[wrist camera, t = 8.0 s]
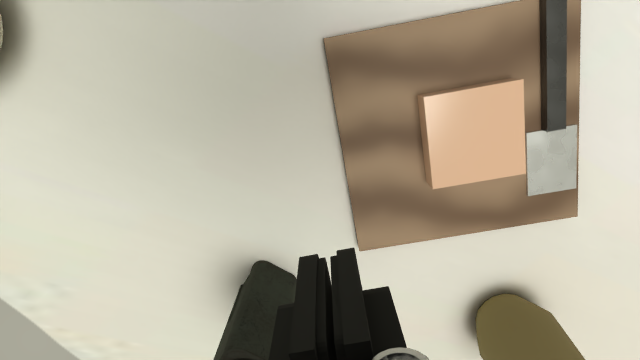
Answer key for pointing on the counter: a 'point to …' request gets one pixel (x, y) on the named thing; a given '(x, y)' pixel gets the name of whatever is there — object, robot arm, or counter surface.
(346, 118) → the board
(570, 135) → the turner
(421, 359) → the robot arm
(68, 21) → the counter surface
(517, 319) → the squeeze bottle
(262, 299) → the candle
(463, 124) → the tile
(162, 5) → the counter surface
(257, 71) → the counter surface
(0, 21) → the vase
